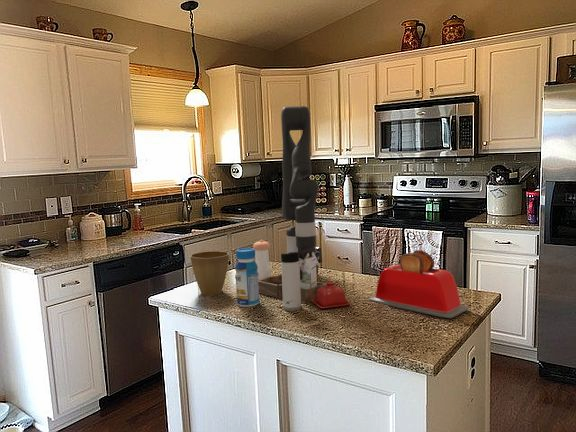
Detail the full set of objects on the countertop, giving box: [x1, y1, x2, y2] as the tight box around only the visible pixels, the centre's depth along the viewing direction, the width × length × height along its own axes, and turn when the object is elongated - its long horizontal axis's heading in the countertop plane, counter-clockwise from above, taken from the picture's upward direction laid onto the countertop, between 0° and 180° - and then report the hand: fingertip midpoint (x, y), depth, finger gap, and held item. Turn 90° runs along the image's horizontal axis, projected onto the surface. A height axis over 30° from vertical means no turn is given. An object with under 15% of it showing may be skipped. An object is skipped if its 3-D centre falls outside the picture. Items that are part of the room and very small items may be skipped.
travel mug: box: [280, 252, 302, 312], centre depth 166 cm, size 6×7×20 cm
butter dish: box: [311, 280, 351, 309], centre depth 169 cm, size 12×12×8 cm
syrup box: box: [299, 256, 318, 289], centre depth 178 cm, size 6×6×14 cm
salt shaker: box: [252, 239, 272, 280], centre depth 199 cm, size 7×7×19 cm
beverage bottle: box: [234, 247, 260, 308], centre depth 173 cm, size 8×8×20 cm
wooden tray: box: [258, 273, 327, 305], centre depth 185 cm, size 15×26×5 cm, turn 45°
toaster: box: [368, 249, 470, 319], centre depth 164 cm, size 32×13×19 cm, turn 44°
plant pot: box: [189, 250, 230, 297], centre depth 189 cm, size 15×15×16 cm
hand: (307, 277), depth 179 cm, fingers open, 8 cm apart
